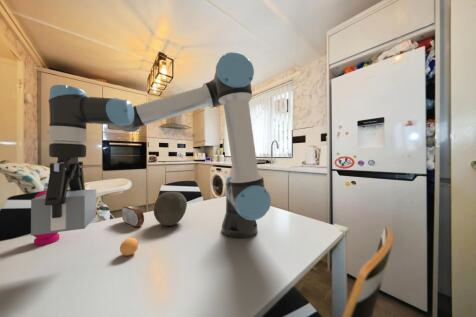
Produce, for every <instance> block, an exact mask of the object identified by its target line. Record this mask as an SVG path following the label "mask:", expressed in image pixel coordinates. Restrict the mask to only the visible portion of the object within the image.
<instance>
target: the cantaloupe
mask: <svg viewBox="0 0 476 317" xmlns="http://www.w3.org/2000/svg"><path fill="white" fill-rule="evenodd" d="M187 207H188V203H187V199H186V197H185V196H184V194H182V193H181V192H179V191H164V192H162V193H161V194H160V195H159V196H158V197H157V199H156V200H155V203H154V206H153V215H154V217H155V218H154V219H155V220H156V221H157V222H158V223H159V224H160V225H162V226H167V227H172V226H175V225H176V224H178V223H180V221H181V220H182V219H183V217H184V216H185V213H186V210H187Z"/></svg>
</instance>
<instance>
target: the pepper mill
mask: <svg viewBox="0 0 476 317" xmlns="http://www.w3.org/2000/svg"><path fill="white" fill-rule="evenodd" d="M47 187H48V186H45V187H43V191H41V192H38V193H37V194H36V195H35V196H34V198H37V197H39V196H42V195H45V194H46V193H47ZM32 236H33V237H34V240H33V245H34V246H37V247H38V246H40V247H41V246H47V245H49V244H53V243H55V242H58V241H59V240H60V233H59V232H55V233H47V234H39V235H32Z"/></svg>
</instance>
